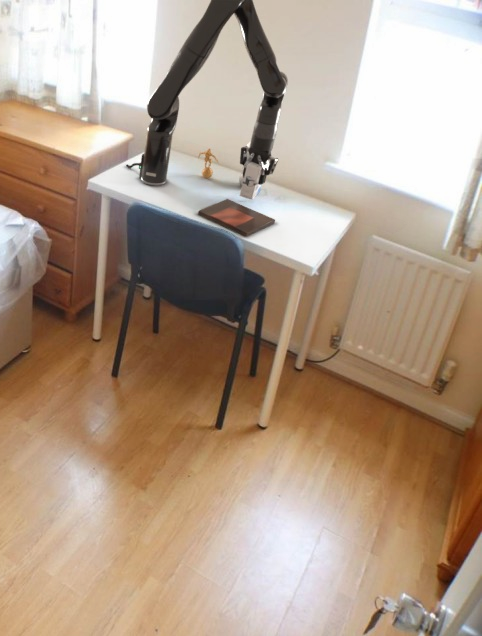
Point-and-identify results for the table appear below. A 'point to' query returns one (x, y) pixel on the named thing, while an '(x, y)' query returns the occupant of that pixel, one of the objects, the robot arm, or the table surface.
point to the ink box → (251, 181)
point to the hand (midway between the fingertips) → (253, 180)
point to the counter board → (236, 217)
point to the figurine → (206, 171)
